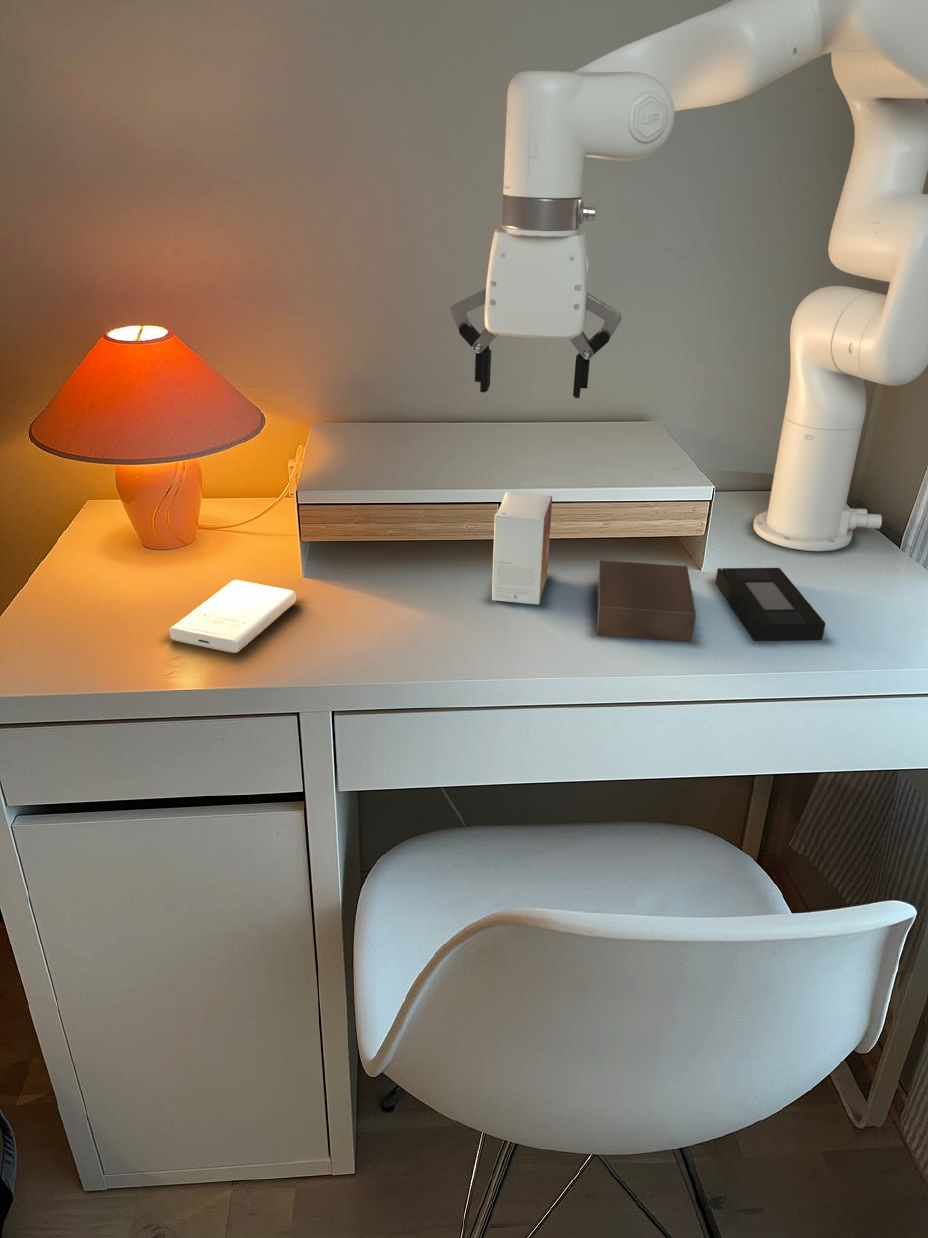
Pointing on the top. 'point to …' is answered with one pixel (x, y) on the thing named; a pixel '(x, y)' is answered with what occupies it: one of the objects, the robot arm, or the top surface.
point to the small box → (521, 547)
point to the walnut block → (645, 601)
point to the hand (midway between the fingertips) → (530, 391)
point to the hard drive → (233, 616)
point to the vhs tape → (769, 604)
